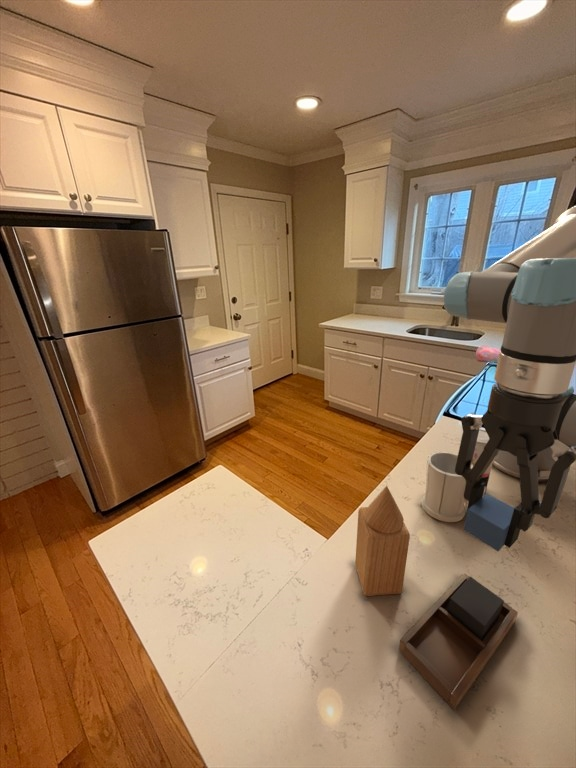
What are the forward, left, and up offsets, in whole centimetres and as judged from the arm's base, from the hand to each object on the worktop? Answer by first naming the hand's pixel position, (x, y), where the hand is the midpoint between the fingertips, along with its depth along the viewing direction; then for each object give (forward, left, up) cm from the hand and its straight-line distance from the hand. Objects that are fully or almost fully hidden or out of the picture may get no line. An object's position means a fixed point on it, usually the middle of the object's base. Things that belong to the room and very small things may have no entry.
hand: (490, 529), depth 49 cm
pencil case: (-130, -51, -14) cm, 141 cm away
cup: (-14, -13, -14) cm, 24 cm away
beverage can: (-24, -13, -14) cm, 31 cm away
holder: (+9, +2, -13) cm, 16 cm away
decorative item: (+11, -11, -14) cm, 21 cm away
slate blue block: (0, 0, 0) cm, 0 cm away
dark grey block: (+5, +2, -13) cm, 14 cm away
